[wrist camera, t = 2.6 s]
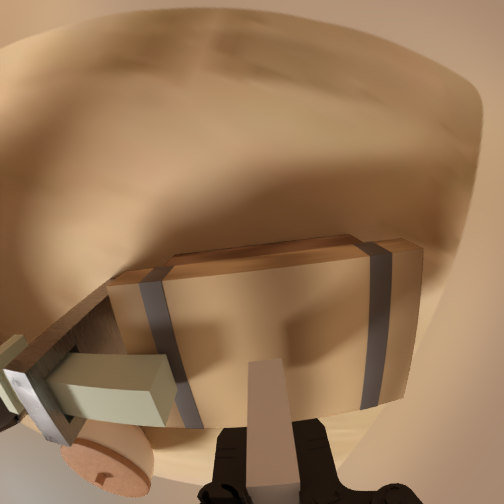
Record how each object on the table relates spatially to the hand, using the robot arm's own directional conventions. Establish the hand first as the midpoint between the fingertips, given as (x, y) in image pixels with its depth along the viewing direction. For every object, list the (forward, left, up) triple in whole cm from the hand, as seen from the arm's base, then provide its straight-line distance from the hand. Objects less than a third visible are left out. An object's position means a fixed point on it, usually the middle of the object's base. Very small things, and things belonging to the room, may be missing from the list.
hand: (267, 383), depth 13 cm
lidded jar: (-19, -17, -12) cm, 28 cm away
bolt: (-11, 0, -2) cm, 11 cm away
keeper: (-12, 0, -11) cm, 16 cm away
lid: (+1, 0, -4) cm, 4 cm away
